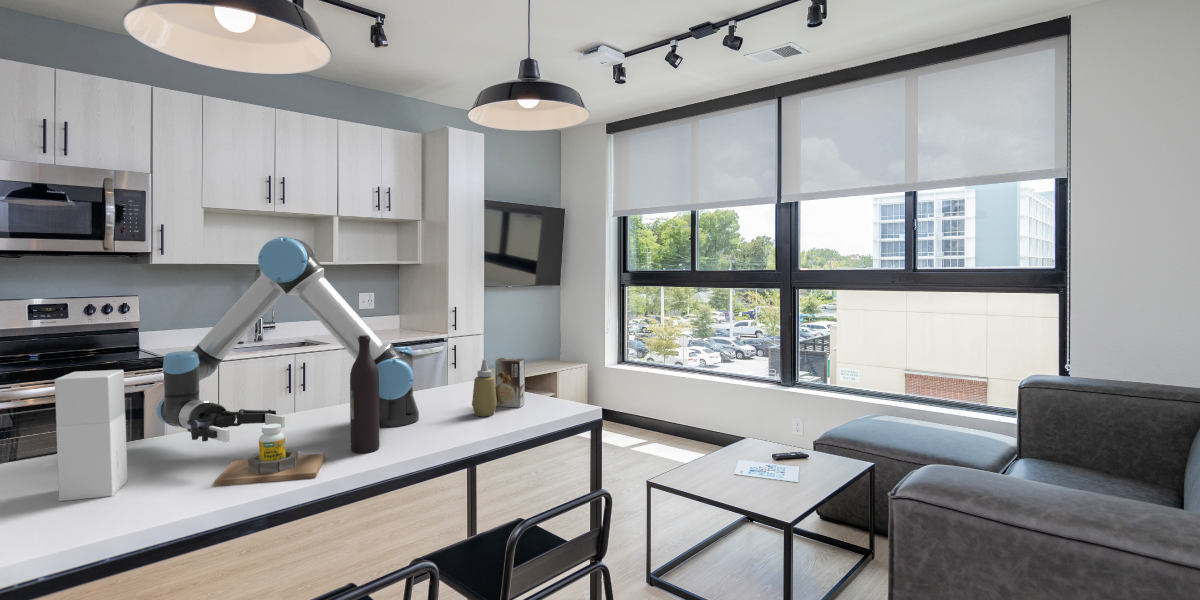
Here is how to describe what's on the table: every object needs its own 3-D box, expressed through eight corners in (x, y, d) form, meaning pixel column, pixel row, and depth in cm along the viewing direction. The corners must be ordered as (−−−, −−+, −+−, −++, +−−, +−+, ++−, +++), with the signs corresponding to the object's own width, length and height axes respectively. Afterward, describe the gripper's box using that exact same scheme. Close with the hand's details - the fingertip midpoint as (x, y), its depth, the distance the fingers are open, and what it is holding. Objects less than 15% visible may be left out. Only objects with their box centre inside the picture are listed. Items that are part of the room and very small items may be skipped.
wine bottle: (366, 443, 161) (365, 333, 159) (385, 447, 158) (384, 335, 156) (344, 451, 155) (343, 336, 153) (364, 455, 152) (363, 338, 150)
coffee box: (525, 403, 210) (525, 358, 209) (520, 407, 203) (520, 361, 202) (500, 402, 211) (500, 357, 210) (494, 406, 205) (494, 360, 204)
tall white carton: (112, 496, 123) (108, 376, 122) (58, 501, 120) (53, 379, 118) (128, 481, 131) (124, 369, 130) (78, 486, 128) (73, 371, 127)
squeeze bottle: (494, 417, 190) (494, 362, 189) (469, 417, 190) (469, 361, 189) (499, 411, 198) (499, 357, 197) (474, 411, 198) (475, 357, 197)
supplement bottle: (284, 460, 143) (283, 421, 142) (287, 467, 138) (286, 426, 138) (258, 464, 140) (257, 424, 139) (260, 471, 135) (259, 430, 135)
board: (324, 458, 149) (324, 444, 149) (315, 477, 136) (315, 462, 135) (234, 464, 143) (233, 450, 143) (215, 486, 130) (214, 469, 129)
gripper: (252, 420, 162) (304, 431, 153) (149, 444, 140) (201, 459, 131) (251, 393, 162) (303, 402, 152) (148, 412, 140) (201, 425, 130)
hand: (256, 428), depth 141 cm, fingers open, 13 cm apart
